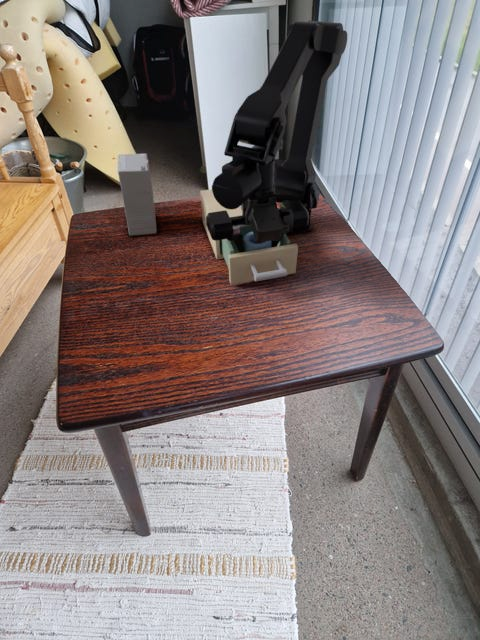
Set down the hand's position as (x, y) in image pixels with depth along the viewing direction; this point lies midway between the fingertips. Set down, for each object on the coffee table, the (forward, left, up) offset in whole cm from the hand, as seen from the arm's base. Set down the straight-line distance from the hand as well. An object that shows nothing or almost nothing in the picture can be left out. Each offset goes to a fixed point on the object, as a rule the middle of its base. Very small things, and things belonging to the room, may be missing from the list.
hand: (257, 256), depth 85 cm
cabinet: (0, -13, -3) cm, 13 cm away
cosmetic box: (+21, -23, -3) cm, 31 cm away
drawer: (0, 0, -2) cm, 2 cm away
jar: (0, 0, -1) cm, 1 cm away
